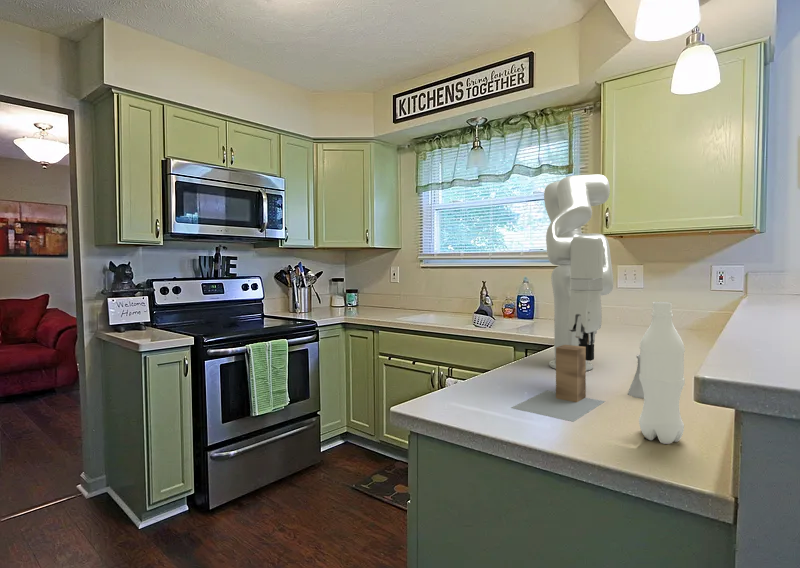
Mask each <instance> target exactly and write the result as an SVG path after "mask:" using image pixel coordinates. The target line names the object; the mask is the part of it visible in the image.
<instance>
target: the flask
mask: <svg viewBox="0 0 800 568" xmlns="http://www.w3.org/2000/svg"><path fill="white" fill-rule="evenodd" d="M635 357H636V359H637V365H636V370H635V374H634V376H633V379H632V382H631V384H630V387H629V389H628V391H627V395H629V396H630V397H633V398H635V399H643V400H644V392H643V387H642V384H641V382H640V379H639V374H640V354H636V356H635Z"/></svg>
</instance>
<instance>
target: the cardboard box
mask: <svg viewBox="0 0 800 568" xmlns="http://www.w3.org/2000/svg"><path fill="white" fill-rule="evenodd" d="M586 372H587V371H586V347H583V346H573V345H562V346H559V347H556V369H555V392H556V398H557V399H562V400H567V401H572V402H579V401H580V400H582V399H584V398H587V396H586V392H587V391H586V387H587V386H586V381H587V379H586V375H587V374H586Z"/></svg>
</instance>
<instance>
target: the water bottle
mask: <svg viewBox="0 0 800 568" xmlns="http://www.w3.org/2000/svg"><path fill="white" fill-rule="evenodd" d="M672 305H673V304H672V302H669V301H653V302H652V310H651V313H650V316H652V317H651V322H650V324H649V326H648V328H647V329H646V331H645V333H644V334H643V336H642V337H641V339H640V343H639V352H640V353H639V355H640V374H639V379H640V382H641V384H642V387H643V392H644V399H643V405H642V410H641V413H640V416H639V418H638V424H639V428H640V431H641V434H642V435H643V436H644V438H646V440H649V441H653V440H654V439H655V438H656V437H657V439H658V440H659V442H660V444H665V445H670V444H672V443H673V442H675V443H677V442H680V440H681V439H682V437H683V434H684V431H685V429H684V428H685V424H684V422H683V418H682V417H681V411H680V400H681V394H682V391H683V389H684V386H685V385H686V384H685V381H686V379H685V377H684V376H685V375H684V374H685V352H686V349H685V344H684V342H683V340H682V337H681V335H680V334H679V332H678V330H677V329H676V327H675V325H674V322H673V317H674V314H673V310H672V309H673V308H672V307H673V306H672Z"/></svg>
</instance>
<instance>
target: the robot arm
mask: <svg viewBox="0 0 800 568" xmlns="http://www.w3.org/2000/svg"><path fill="white" fill-rule="evenodd" d="M610 186H611V185H610V182H609V180H608V178H607V176H605V175H603V174H597V173H596V174H595V173H594V174H592V173H591V174H576V175H575V174H574V175H568V176H566V177H563V178H562V179H560V180H557V181H553V182H550V183H549V184H547V185H546V186H545V188H544V192H543V198H544V199H543V200H544V207H545V211H546V213H547V216H548V218H549V220H550V223H549V225H548V227H547V231H546V234H545V241H546V243H545V244H546V254H547V259H548V261H549V263H550V264H552V265H554V266H556V267H555V268H554V269H553V270H552V272H551V277H550V278H551V286H552V293H553V304H554V305H553V306H554V309H553V311H554V313H553V314H554V318H553V319H554V327H553V328H554V330H553V332H554V334H553V336H554V338H553V339H554V342H553V343H554V345H553V347H554V348H553V349H554V350H553V351H554V353H553V354H554V355H553V356H554V357H553V358H554V359H553V360H550V361H549V363H548V364H549V365H548V366H549V367H550V368H553V369H554V370H556V347H559V346H562V345H573V346H583V347H586V372H587V371H591V370H592V369H593V368H594V365H593V363H592V362H591V361H594V359H595V341H596V339H595V338H596V334H597V331H598V330H600V329H601V328H602V322H603V321H602V318H603V317H602V315H603V314H602V311H603V310H602V297H601V296H607V295H609V294H611V293H612V291H613V288H614V271H613V265H612V255H611V248H610V243H609V240H608V238H607V237H606V235H604V234H601V233H594V232H593V233H583V232H582V227H583V226H585V225H587V223H588V222H590V220H591V218H592V216H593V209H592V207H597V206H599V205H600V206H601V205H603V204H605V203H606V202H607V201H608V199H609V198H610V193H611V187H610Z"/></svg>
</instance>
